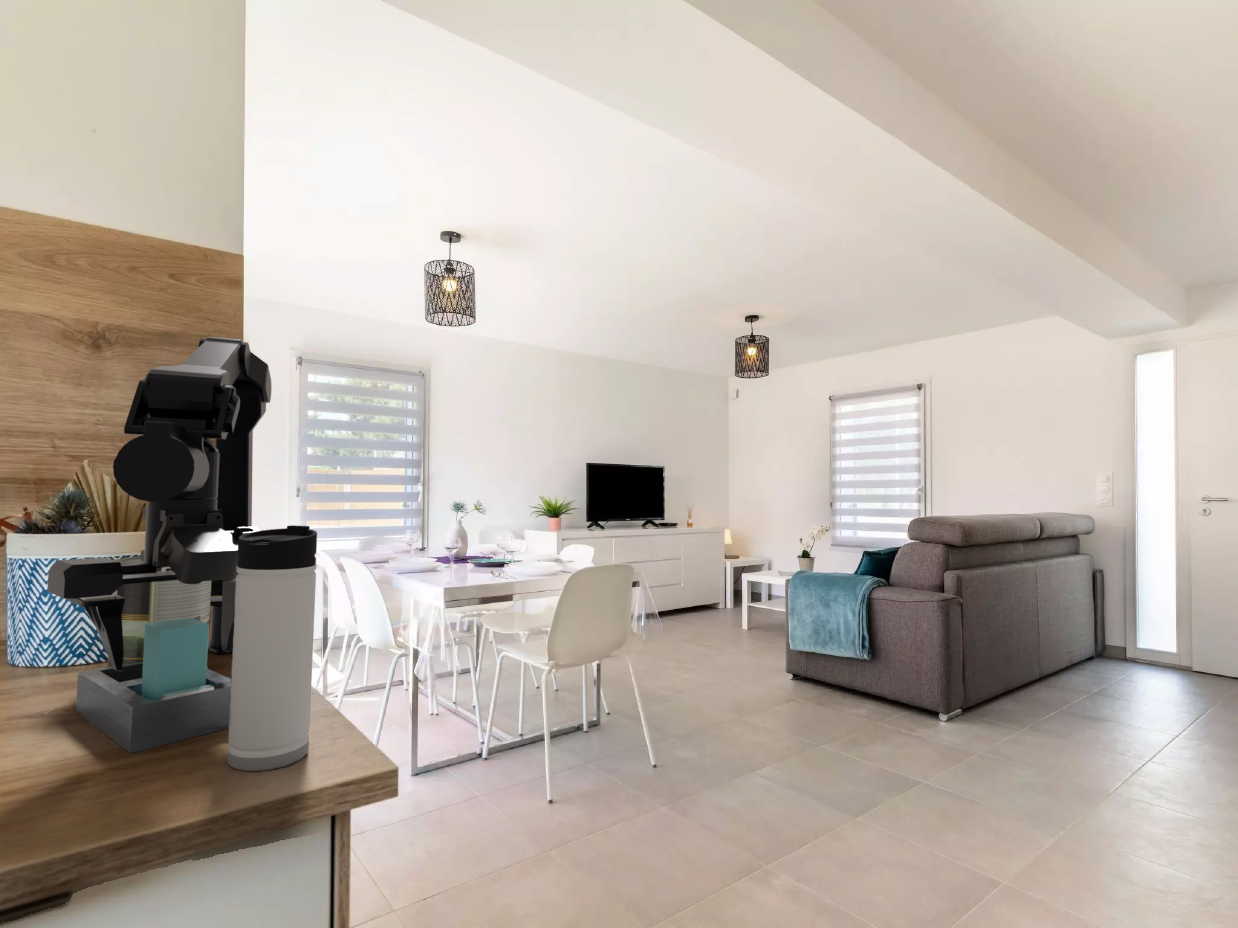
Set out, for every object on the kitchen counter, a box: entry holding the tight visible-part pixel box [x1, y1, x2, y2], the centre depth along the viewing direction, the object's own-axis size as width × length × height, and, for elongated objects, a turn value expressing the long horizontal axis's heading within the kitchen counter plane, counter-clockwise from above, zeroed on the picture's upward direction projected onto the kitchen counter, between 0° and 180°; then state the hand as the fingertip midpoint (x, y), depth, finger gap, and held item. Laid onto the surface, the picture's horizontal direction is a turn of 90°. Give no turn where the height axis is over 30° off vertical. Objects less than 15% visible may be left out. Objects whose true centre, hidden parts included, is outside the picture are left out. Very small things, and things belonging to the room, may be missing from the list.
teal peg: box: [141, 618, 209, 700], centre depth 63 cm, size 4×4×10 cm
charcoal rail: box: [75, 661, 231, 754], centre depth 66 cm, size 16×9×4 cm, turn 53°
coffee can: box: [106, 555, 212, 669], centre depth 80 cm, size 10×10×14 cm
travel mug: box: [227, 524, 318, 772], centre depth 58 cm, size 6×7×20 cm
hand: (175, 659), depth 63 cm, fingers open, 9 cm apart
